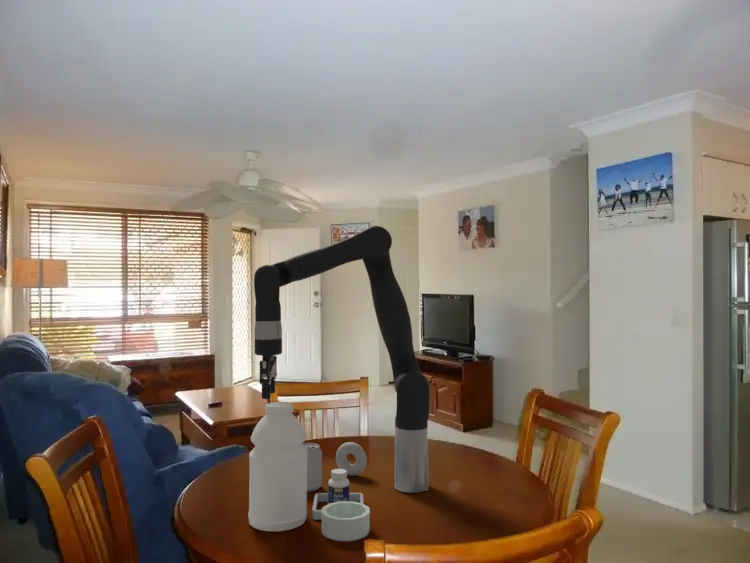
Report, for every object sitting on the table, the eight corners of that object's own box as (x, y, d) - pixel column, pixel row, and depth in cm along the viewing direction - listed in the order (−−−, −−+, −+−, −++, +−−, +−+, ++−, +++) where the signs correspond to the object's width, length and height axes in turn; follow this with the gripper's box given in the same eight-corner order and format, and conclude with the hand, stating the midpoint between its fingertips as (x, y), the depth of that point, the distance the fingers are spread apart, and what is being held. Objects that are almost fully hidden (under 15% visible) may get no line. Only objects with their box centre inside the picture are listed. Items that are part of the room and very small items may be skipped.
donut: (333, 475, 172) (333, 441, 172) (338, 471, 175) (338, 439, 175) (363, 479, 168) (364, 445, 168) (368, 475, 171) (368, 442, 171)
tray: (362, 500, 151) (363, 492, 151) (363, 519, 138) (363, 511, 138) (315, 500, 151) (315, 493, 151) (311, 519, 138) (311, 511, 138)
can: (316, 493, 156) (317, 449, 156) (290, 491, 157) (291, 447, 157) (324, 484, 163) (325, 442, 163) (299, 482, 165) (300, 441, 165)
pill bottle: (332, 515, 141) (333, 475, 141) (324, 507, 146) (324, 469, 146) (352, 511, 143) (353, 472, 143) (343, 504, 148) (344, 466, 148)
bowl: (368, 521, 137) (368, 501, 137) (370, 541, 126) (370, 519, 126) (323, 521, 137) (323, 501, 137) (320, 541, 126) (320, 519, 126)
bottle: (254, 536, 128) (256, 411, 128) (242, 514, 141) (244, 400, 141) (314, 527, 134) (315, 407, 134) (298, 506, 146) (299, 397, 147)
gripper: (278, 339, 151) (278, 400, 150) (285, 335, 165) (285, 391, 165) (249, 339, 150) (250, 401, 150) (259, 335, 165) (259, 391, 164)
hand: (268, 395), depth 157 cm, fingers open, 8 cm apart
